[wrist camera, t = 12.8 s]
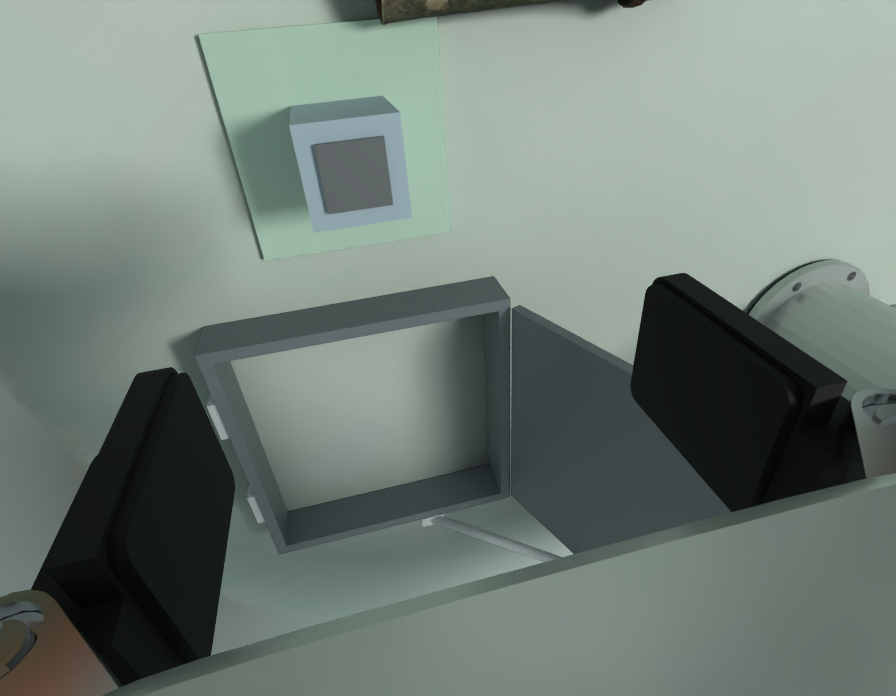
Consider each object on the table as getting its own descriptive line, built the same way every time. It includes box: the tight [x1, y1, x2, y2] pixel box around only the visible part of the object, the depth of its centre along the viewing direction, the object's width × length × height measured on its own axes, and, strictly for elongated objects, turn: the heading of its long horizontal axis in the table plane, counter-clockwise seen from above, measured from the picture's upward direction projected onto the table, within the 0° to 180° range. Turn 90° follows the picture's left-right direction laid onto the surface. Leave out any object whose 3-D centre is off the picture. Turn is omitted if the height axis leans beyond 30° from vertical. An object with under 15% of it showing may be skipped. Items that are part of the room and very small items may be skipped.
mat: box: [198, 17, 451, 261], centre depth 29 cm, size 12×12×1 cm
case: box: [194, 277, 562, 562], centre depth 36 cm, size 24×21×12 cm
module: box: [289, 96, 412, 233], centre depth 27 cm, size 5×5×6 cm
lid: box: [511, 305, 731, 554], centre depth 33 cm, size 17×19×1 cm
